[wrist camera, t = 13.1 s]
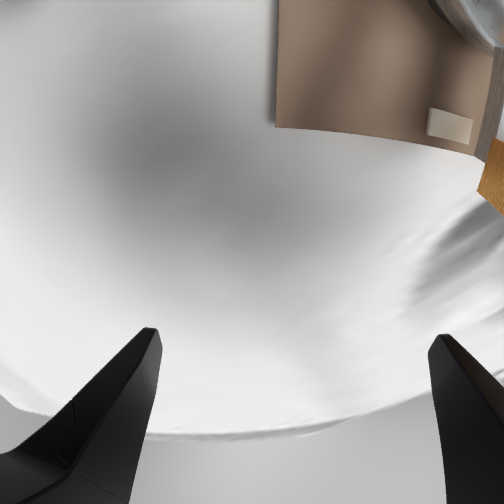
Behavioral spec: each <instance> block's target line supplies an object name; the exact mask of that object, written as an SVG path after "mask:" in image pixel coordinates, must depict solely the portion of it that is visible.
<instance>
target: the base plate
mask: <svg viewBox="0 0 504 504" xmlns="http://www.w3.org/2000/svg"><path fill="white" fill-rule="evenodd" d="M492 64H493V58H492V57H490V56H488V55H486V54H484V53H483V52H481V51H479V50H478V49H477V48H475V47H474V46H473V45H471V44H470V43H469V42H468V41H467V40H466V39H465V38H464V37H463V36H462V35H461V34H460V33H459V32H458V31H457V30H456V29H455V27H454V26H453V25H452V24H451V23H450V21H449V20H448V19H447V17H446V16H445V14H444V13H443V11H442V10H441V8H440V6H439V5H438V3H437V2H436V0H279V14H278V49H277V79H276V106H275V127H280V128H296V129H310V130H322V131H332V132H342V133H350V134H359V135H366V136H374V137H380V138H387V139H393V140H400V141H405V142H411V143H417V144H422V145H427V146H432V147H437V148H442V149H446V150H451V151H455V152H460V153H464V154H468V155H472V156H474V152H475V149H476V145H477V141H478V137H479V133H480V129H481V125H482V120H483V116H484V111H485V106H486V101H487V96H488V90H489V85H490V78H491V72H492Z"/></svg>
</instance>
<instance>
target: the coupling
mask: <svg viewBox="0 0 504 504" xmlns="http://www.w3.org/2000/svg"><path fill="white" fill-rule="evenodd" d="M436 2H437V3H438V5H439V6H440V8H441V10H442V11H443V13H444V14H445V16H446V17H447V19H448V20H449V21H450V23H451V24H452V25H453V26H454V27H455V29H456V30H457V31H458V32H459V33H460V34H461V35H462V36H463V37H464V38H465V39H466V40H467V41H468V42H469V43H470V44H471V45H473V46H474V47H475V48H477V49H478V50H479V51H481V52H483V53H484V54H486V55H488V56H490V57H492V58H493V64H492V72H491V78H490V85H489V90H488V96H487V101H486V106H485V111H484V116H483V120H482V125H481V129H480V133H479V137H478V141H477V145H476V149H475V152H474V156H475V157H477V158H478V159H480V160H481V161H483V162H484V163H486V164H485V167H484V170H483V173H482V177H481V180H480V183H479V186H478V189H477V192H478V193H479V194H480V195H482V196H483V197H484V198H485V199H486V200H487V201H488V202H489V203H491V204H492V205H493V206H494V207H495V208H496V209H497V210H498V211H499V212H500V213H501V214H502V215H503V216H504V0H436Z"/></svg>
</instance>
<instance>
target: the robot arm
mask: <svg viewBox="0 0 504 504" xmlns="http://www.w3.org/2000/svg"><path fill="white" fill-rule="evenodd" d="M161 357H162V343H161V339H160V336H159V332H158V330H157V329H156V328H148V327H145V328H143V329H142V330H141V331H140V332H139V333H138V334H137V335H136V336H135V337H134V338H133V339H132V340H131V341H130V342H128V343H127V344H126V345H125V346H124V347H123V348H122V349H121V350H120V351H119V352H118V353H117V354H116V355H115V356H114V357H113V358H112V359H111V360H110V361H109V362H108V363H107V364H106V365H105V366H104V367H103V368H102V369H101V370H100V371H99V372H98V373H97V374H96V375H95V376H94V377H93V378H92V379H91V380H90V381H89V382H88V383H87V384H86V385H85V386H84V387H83V388H82V389H81V390H80V391H79V392H78V393H77V394H76V395H75V396H74V397H73V398H72V400H70V401H69V402H68V403H67V404H66V405H65V406H64V407H63V408H62V409H61V410H60V411H59V412H58V413H57V414H56V415H55V416H54V417H53V418H52V419H50V420H49V421H48V422H47V423H46V424H45V425H43V426H42V427H41V428H40V429H38V430H37V431H36V432H35V433H34V434H32V435H31V436H30V437H29V438H27V440H25V441H24V442H23V443H21V444H20V445H19V446H17V447H16V448H14V449H13V450H11V451H9V452H6V453H3V454H0V504H129V500H130V496H131V491H132V487H133V482H134V478H135V474H136V470H137V465H138V461H139V457H140V453H141V449H142V445H143V441H144V437H145V433H146V429H147V425H148V421H149V418H150V414H151V410H152V406H153V403H154V399H155V395H156V389H157V382H158V376H159V369H160V363H161ZM428 361H429V369H430V377H431V387H432V395H433V401H434V406H435V411H436V417H437V422H438V429H439V434H440V441H441V448H442V456H443V465H444V474H445V485H446V495H447V496H446V500H447V504H504V387H503V386H502V385H501V384H500V383H499V382H498V381H497V380H496V379H495V378H494V377H493V376H492V375H491V374H490V373H489V372H488V371H487V370H486V369H485V368H484V367H483V366H482V365H481V364H480V363H479V362H478V361H477V360H476V359H475V358H474V357H473V356H472V355H471V354H470V353H469V352H468V351H467V350H466V349H465V348H464V347H462V346H461V345H460V344H459V343H458V342H457V341H456V340H455V339H454V338H453V337H452V336H451V335H449V334H439V335H438V336H437V337H436V339H435V340H434V342H433V344H432V345H431V347H430V349H429V351H428Z"/></svg>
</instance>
